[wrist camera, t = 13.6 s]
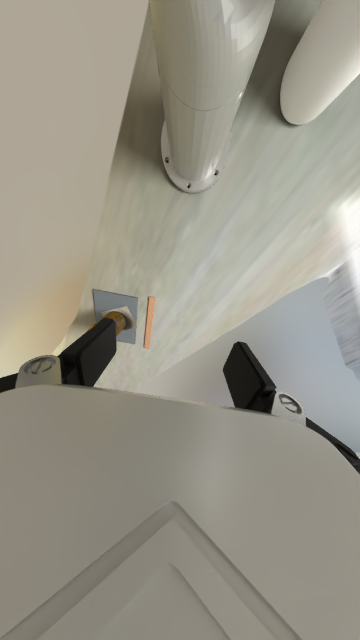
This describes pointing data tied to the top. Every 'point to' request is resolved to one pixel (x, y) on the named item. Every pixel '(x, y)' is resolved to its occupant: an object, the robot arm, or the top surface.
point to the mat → (113, 301)
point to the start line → (149, 321)
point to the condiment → (119, 319)
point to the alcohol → (322, 61)
